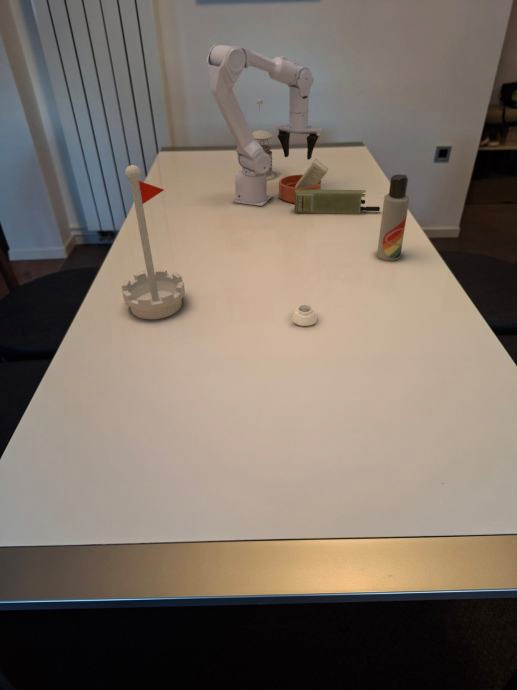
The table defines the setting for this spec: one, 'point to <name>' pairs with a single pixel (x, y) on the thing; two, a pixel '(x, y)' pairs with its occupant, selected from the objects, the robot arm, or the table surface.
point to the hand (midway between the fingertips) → (297, 157)
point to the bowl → (292, 187)
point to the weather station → (263, 136)
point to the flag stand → (150, 265)
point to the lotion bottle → (393, 219)
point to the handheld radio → (331, 201)
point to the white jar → (304, 315)
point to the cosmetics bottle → (312, 175)
